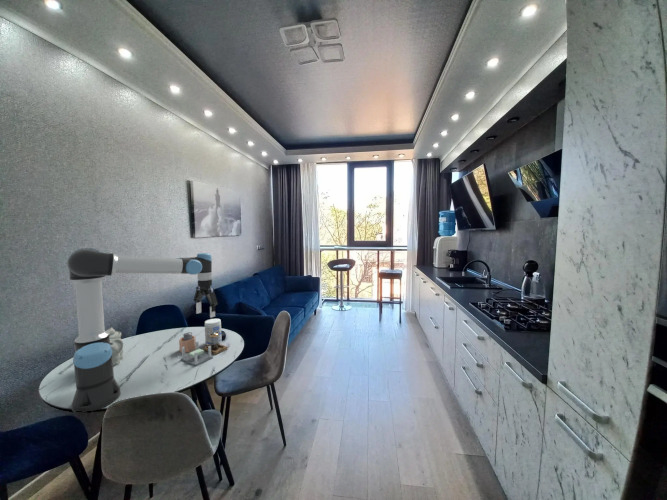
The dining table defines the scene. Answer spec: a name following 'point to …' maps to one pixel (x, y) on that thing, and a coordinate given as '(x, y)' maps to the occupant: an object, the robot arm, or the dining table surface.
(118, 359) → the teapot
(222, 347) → the brown wooden tray
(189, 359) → the checker cradle
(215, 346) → the cell
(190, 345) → the orange canister
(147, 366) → the dining table surface
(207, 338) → the supplement tub
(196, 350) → the checker pad
